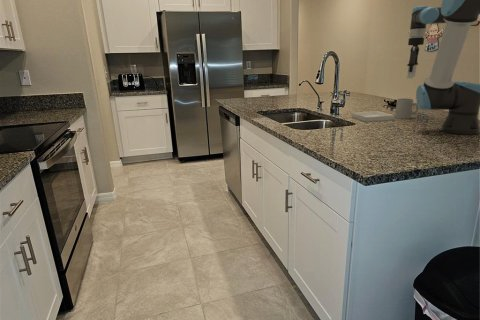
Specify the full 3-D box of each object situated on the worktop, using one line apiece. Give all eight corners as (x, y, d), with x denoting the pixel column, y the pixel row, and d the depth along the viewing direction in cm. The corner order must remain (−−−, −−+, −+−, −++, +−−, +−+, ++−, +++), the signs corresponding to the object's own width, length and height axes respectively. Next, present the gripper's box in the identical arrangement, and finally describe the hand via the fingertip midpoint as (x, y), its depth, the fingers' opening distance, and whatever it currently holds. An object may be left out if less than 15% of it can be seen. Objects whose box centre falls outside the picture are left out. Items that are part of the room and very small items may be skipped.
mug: (392, 118, 187) (394, 99, 183) (397, 116, 192) (400, 98, 189) (414, 120, 179) (417, 101, 175) (419, 118, 184) (422, 99, 181)
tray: (376, 115, 195) (377, 111, 194) (393, 120, 181) (394, 115, 180) (351, 117, 192) (351, 112, 191) (366, 122, 177) (366, 117, 177)
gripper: (411, 38, 184) (406, 75, 190) (406, 37, 164) (400, 79, 170) (426, 37, 180) (420, 75, 186) (422, 36, 160) (416, 79, 167)
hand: (411, 77), depth 178 cm, fingers open, 13 cm apart
